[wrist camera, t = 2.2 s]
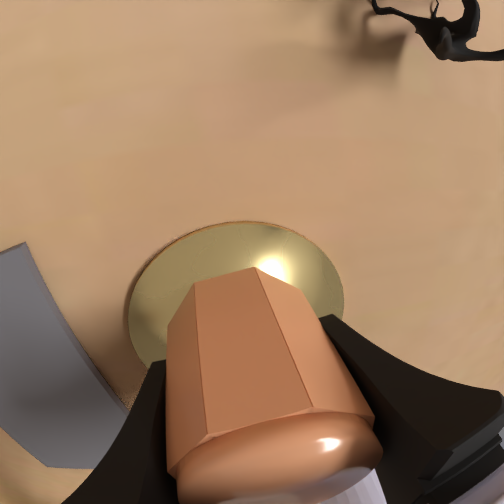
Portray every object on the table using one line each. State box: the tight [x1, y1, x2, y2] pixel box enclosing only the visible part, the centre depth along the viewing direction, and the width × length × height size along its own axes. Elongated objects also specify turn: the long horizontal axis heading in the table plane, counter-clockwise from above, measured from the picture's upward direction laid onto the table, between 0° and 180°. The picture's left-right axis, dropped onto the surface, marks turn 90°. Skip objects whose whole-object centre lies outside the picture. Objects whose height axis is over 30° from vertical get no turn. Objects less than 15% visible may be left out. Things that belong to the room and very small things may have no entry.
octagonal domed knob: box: [166, 267, 383, 504], centre depth 9 cm, size 5×5×7 cm
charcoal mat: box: [0, 242, 129, 469], centre depth 12 cm, size 16×11×1 cm
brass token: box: [128, 221, 344, 369], centre depth 12 cm, size 9×9×1 cm
